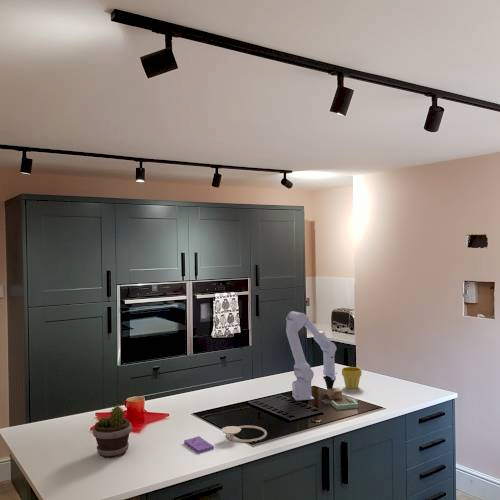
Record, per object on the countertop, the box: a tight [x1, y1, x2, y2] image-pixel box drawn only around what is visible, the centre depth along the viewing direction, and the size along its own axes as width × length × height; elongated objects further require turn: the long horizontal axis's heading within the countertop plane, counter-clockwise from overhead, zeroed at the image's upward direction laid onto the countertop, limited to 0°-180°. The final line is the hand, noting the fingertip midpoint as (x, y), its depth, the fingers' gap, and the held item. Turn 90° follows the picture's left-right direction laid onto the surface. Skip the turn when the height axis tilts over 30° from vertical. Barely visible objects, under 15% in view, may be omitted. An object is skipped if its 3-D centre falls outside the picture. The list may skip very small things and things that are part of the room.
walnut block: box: [326, 387, 343, 400], centre depth 261 cm, size 6×6×4 cm
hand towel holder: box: [220, 425, 268, 443], centre depth 212 cm, size 17×4×21 cm
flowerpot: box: [92, 403, 133, 459], centre depth 198 cm, size 14×15×20 cm
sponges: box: [183, 435, 215, 454], centre depth 203 cm, size 7×13×2 cm, turn 34°
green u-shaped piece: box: [321, 396, 359, 411], centre depth 250 cm, size 16×14×2 cm
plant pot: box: [341, 366, 362, 390], centre depth 278 cm, size 10×10×10 cm
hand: (329, 390), depth 269 cm, fingers closed
